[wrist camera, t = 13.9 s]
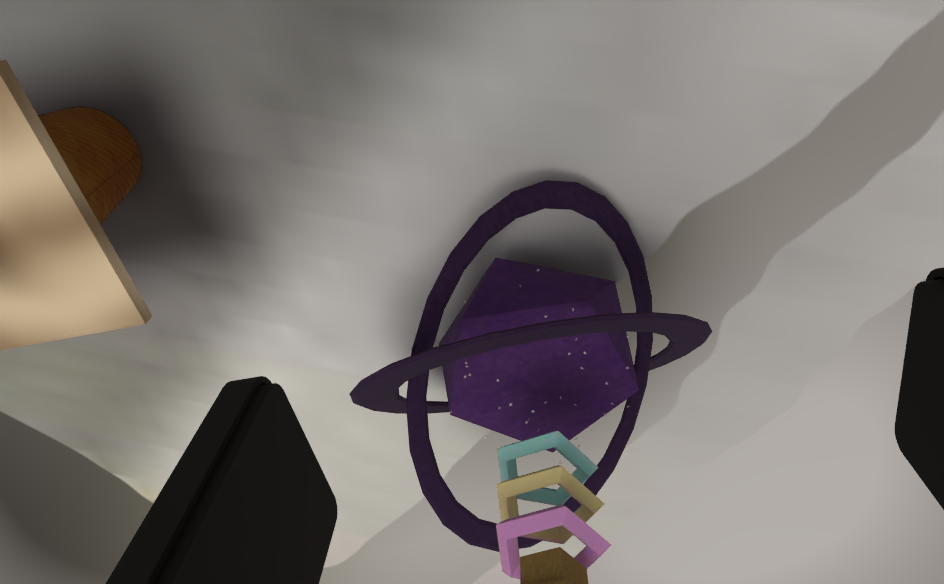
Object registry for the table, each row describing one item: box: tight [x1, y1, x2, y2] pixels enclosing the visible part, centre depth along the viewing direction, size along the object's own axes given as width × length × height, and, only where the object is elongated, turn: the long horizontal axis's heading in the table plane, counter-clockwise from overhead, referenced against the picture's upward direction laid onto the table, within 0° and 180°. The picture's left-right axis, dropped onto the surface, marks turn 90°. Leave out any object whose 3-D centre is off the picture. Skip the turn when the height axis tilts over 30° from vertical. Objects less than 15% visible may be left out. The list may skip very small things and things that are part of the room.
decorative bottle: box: [350, 181, 712, 584], centre depth 37 cm, size 22×21×25 cm
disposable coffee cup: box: [38, 107, 142, 224], centre depth 38 cm, size 10×10×12 cm
